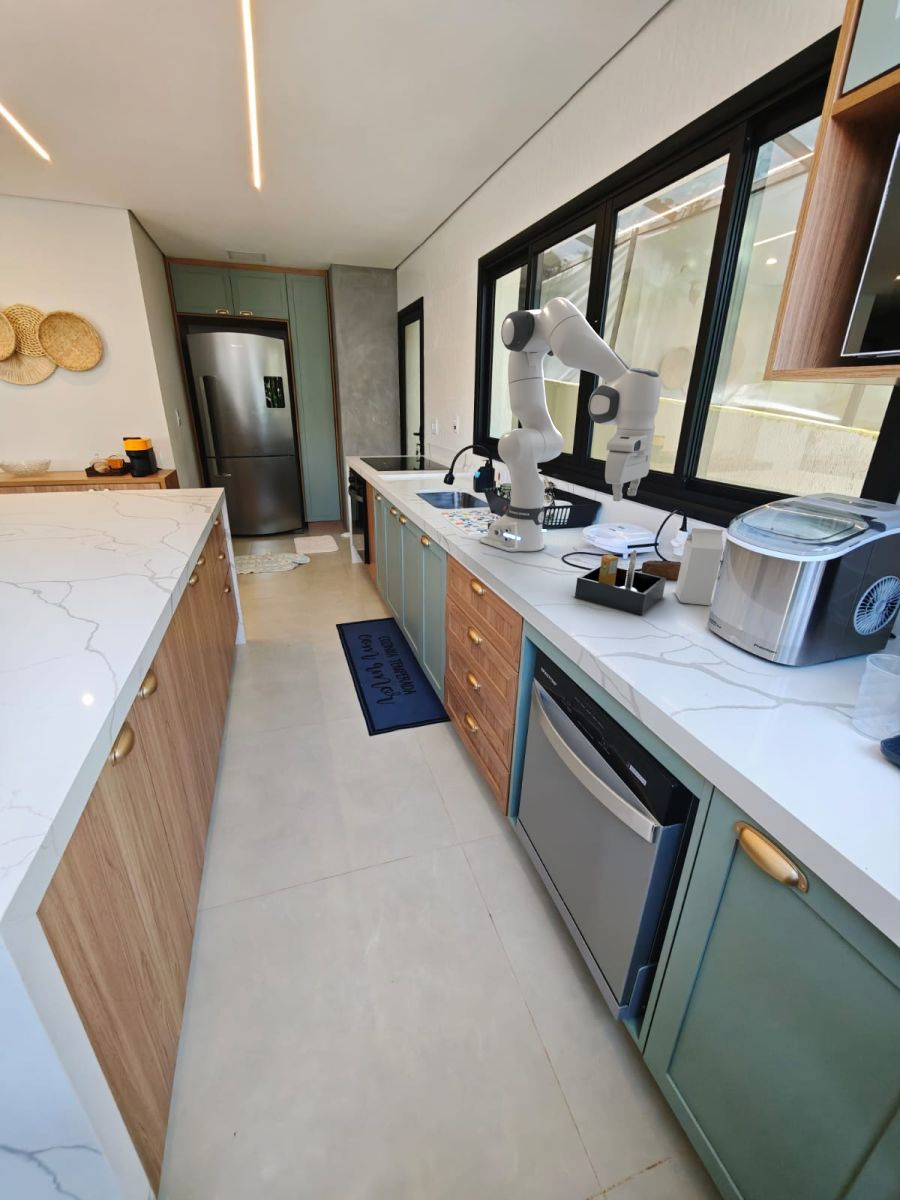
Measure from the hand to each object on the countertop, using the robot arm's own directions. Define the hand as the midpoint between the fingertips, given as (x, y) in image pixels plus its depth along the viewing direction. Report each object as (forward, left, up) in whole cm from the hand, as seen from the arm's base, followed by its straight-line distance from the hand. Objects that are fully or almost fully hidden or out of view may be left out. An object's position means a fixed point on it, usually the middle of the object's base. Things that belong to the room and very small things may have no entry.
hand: (624, 498), depth 128 cm
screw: (+6, -4, -25) cm, 26 cm away
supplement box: (0, -4, -25) cm, 25 cm away
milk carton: (+19, +8, -25) cm, 33 cm away
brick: (+7, +20, -25) cm, 33 cm away
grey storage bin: (+4, -4, -25) cm, 26 cm away
